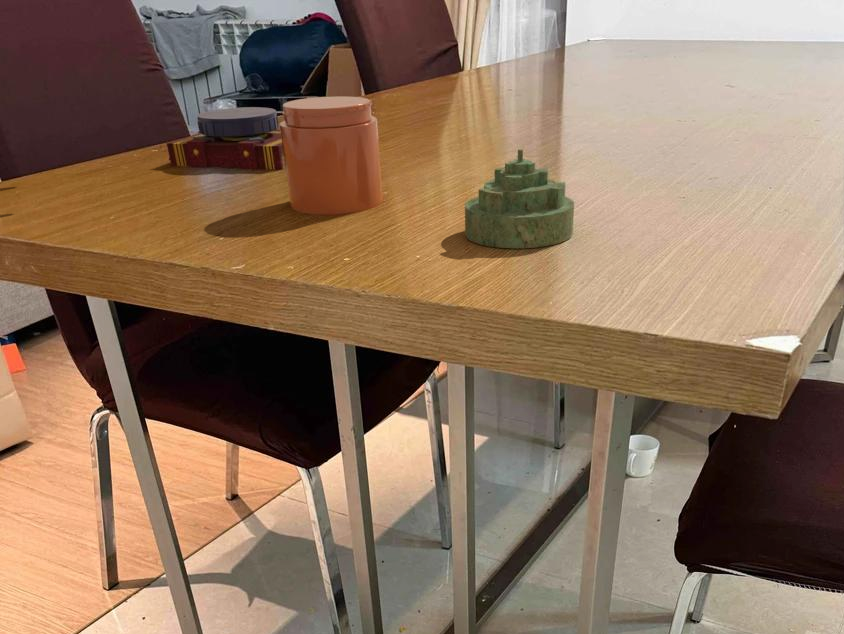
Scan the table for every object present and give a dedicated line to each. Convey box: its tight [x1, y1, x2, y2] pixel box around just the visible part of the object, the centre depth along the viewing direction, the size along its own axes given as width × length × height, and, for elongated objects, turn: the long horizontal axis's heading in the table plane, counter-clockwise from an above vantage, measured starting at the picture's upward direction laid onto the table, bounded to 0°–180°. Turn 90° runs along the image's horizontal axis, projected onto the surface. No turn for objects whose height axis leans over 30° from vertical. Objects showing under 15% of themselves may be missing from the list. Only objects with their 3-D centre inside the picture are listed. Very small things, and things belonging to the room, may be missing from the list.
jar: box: [279, 95, 384, 215], centre depth 80 cm, size 9×9×10 cm
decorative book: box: [166, 129, 286, 171], centre depth 102 cm, size 11×16×5 cm
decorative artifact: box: [464, 148, 575, 250], centre depth 76 cm, size 10×7×10 cm
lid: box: [196, 106, 280, 137], centre depth 100 cm, size 9×9×2 cm
